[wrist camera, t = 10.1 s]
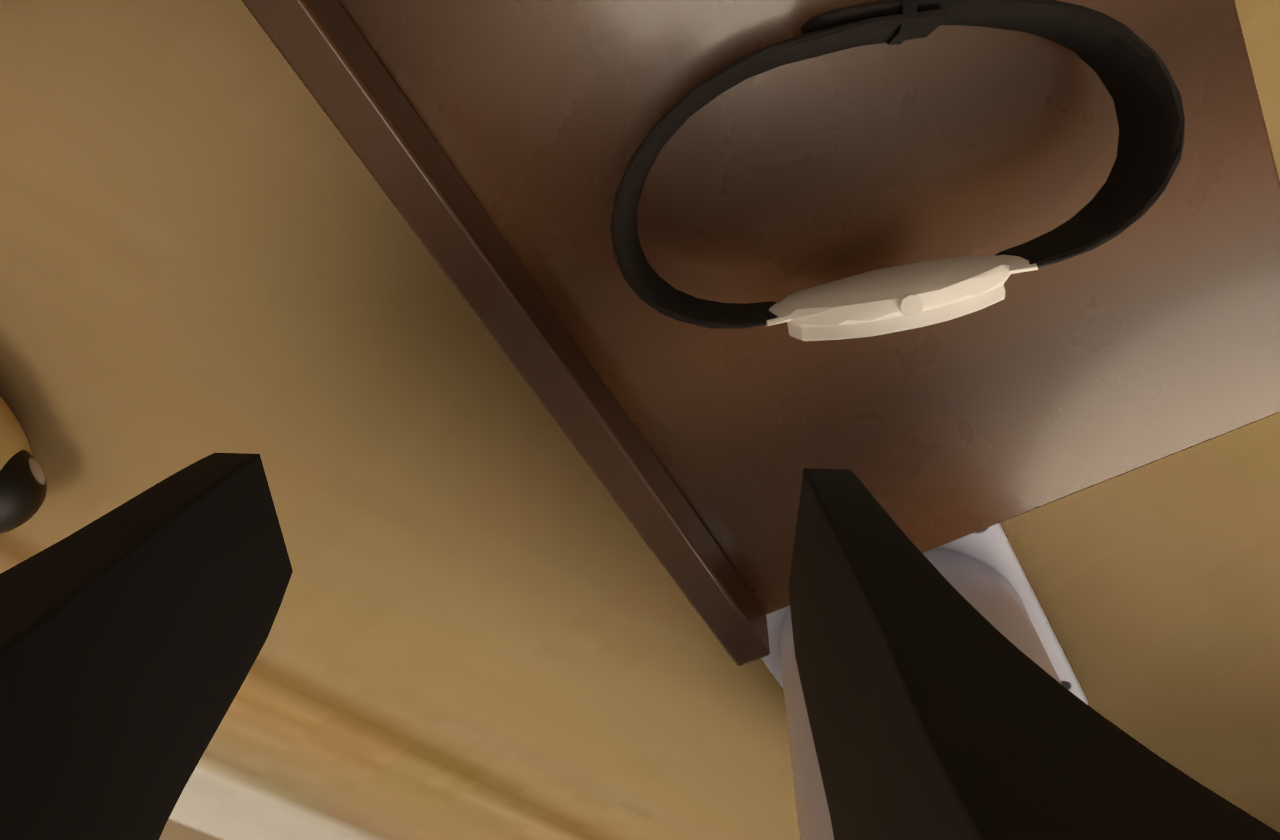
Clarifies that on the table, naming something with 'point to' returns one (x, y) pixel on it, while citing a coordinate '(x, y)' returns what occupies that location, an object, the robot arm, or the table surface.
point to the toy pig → (17, 474)
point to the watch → (949, 283)
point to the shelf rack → (817, 253)
